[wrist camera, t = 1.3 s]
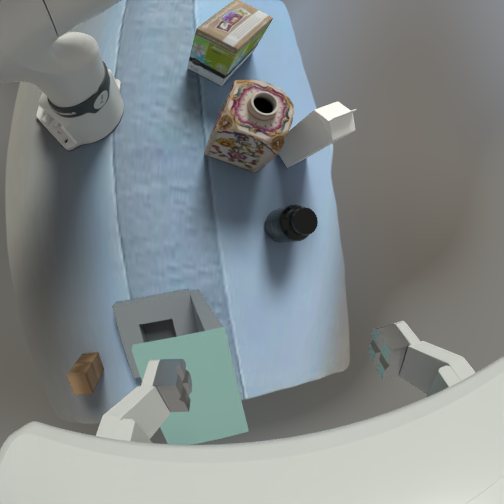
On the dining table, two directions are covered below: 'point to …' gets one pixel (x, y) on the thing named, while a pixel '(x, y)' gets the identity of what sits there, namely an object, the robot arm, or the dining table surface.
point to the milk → (317, 132)
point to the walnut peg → (85, 374)
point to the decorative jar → (251, 125)
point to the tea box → (227, 41)
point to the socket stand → (195, 356)
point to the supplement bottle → (290, 223)
